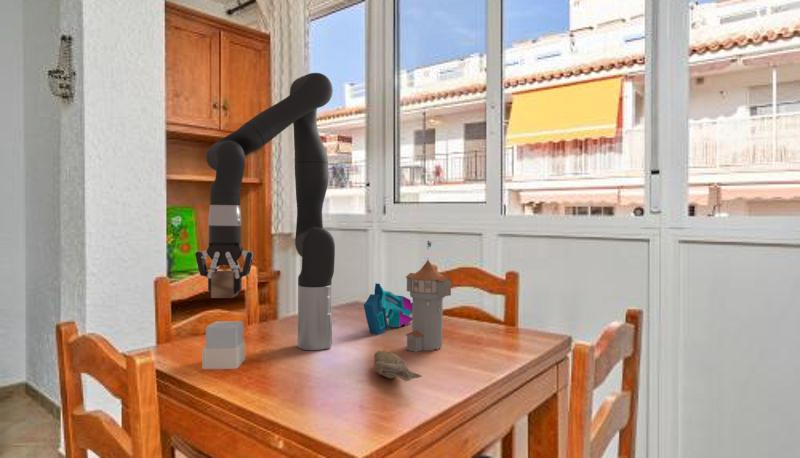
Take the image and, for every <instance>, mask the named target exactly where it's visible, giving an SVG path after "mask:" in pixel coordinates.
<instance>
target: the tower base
mask: <svg viewBox="0 0 800 458" xmlns="http://www.w3.org/2000/svg"><path fill="white" fill-rule="evenodd" d="M201 349H202V350H201V353H202V354H201V355H202V356H201V360H202V361H201V364H202V365H201V366H202V367H201V368H202V370H237V369H238V368H239V367H240V366H241V365H242V363H244V361H245V360H246V340H243V342H242V343H241V344H240V345H239V346H238V347H236V348H206V346H204V347H203V348H201Z"/></svg>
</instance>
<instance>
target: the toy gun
mask: <svg viewBox="0 0 800 458" xmlns="http://www.w3.org/2000/svg"><path fill="white" fill-rule="evenodd" d="M412 306H413V301H412V302H411V299H409V298H407V297H405V296H403V295H396V294H394V293H392V292H391V291H387V290H384V288H383V287H382V286H381V284H380V283H375V285H374V294H372V293H371V294H369V296H368V298H367V300H366V301H365V302H364V303H363V307H364V308H363V309H364V313H365V318H366V322H367V327H368V330H369V334H370V333H371V334H372V335H376V334H377V335H378V336H380V335H381V334H382V333H384V332H386V331H387V330H389V328H388V327H393V328H398V327H399V328H401V327H403V326H402V325H407V326H408V325H409V324H410V322H412V316H411V315H412Z"/></svg>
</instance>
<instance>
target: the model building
mask: <svg viewBox="0 0 800 458" xmlns="http://www.w3.org/2000/svg"><path fill="white" fill-rule="evenodd" d="M431 247H432V241H430V240H427V248H430V249H431ZM405 278H406V292H409V296H410V297H411V298H412V303H413V306H412V314H411V315H412V316H411V318H412V320H411V322H412V325H411V326H412V328H411V332H409V333H407V334H405V336H406V350H407V351H411V352H415V353H417V352H421V351H435V350H434V349H438V348H441V347H443V316H444V310H443V307H444V306H443V300H444V298H445V297H449V296H452V293H451V292H452V282H453V279H451V278H450V277H448V276H444V275H443V274H441V273H440V272H439V271H437V270H436V268H435V267H434V266H433V265H432V262H430V260H429V259H427V260H426V262H425V263H424V265H423V266H422V267H421V268H420V269H419V270H418V271H416V272H409V273H408V274H407V275H406V276H405ZM441 349H442V348H441ZM438 350H439V349H438Z"/></svg>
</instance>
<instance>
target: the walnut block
mask: <svg viewBox="0 0 800 458" xmlns="http://www.w3.org/2000/svg"><path fill="white" fill-rule="evenodd" d="M234 279H235V277H234V272H233V271H232V270H217V271H215V272H212V273H211V291H210V298H211V299H233V298H235V297H237V296H238V295H239V293H238V294H234Z"/></svg>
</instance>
